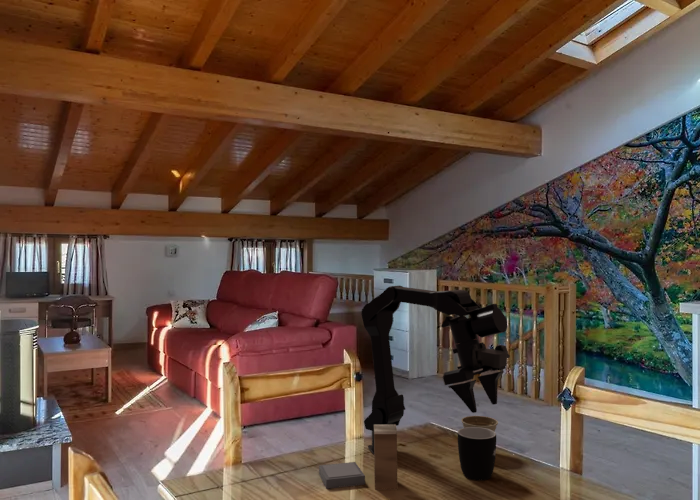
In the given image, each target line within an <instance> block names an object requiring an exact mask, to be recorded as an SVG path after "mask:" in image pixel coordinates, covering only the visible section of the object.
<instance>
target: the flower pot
mask: <svg viewBox="0 0 700 500" xmlns="http://www.w3.org/2000/svg"><path fill="white" fill-rule="evenodd" d="M461 423H462V427H463V428H467V427H480V428H486V429H490V430H492V431H494V432H495V433H496V429H497V426H498V424H499V421H498V420H497V419H495V418H493V417H490V416H482V415H468V416H465V417H462V418H461Z"/></svg>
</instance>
